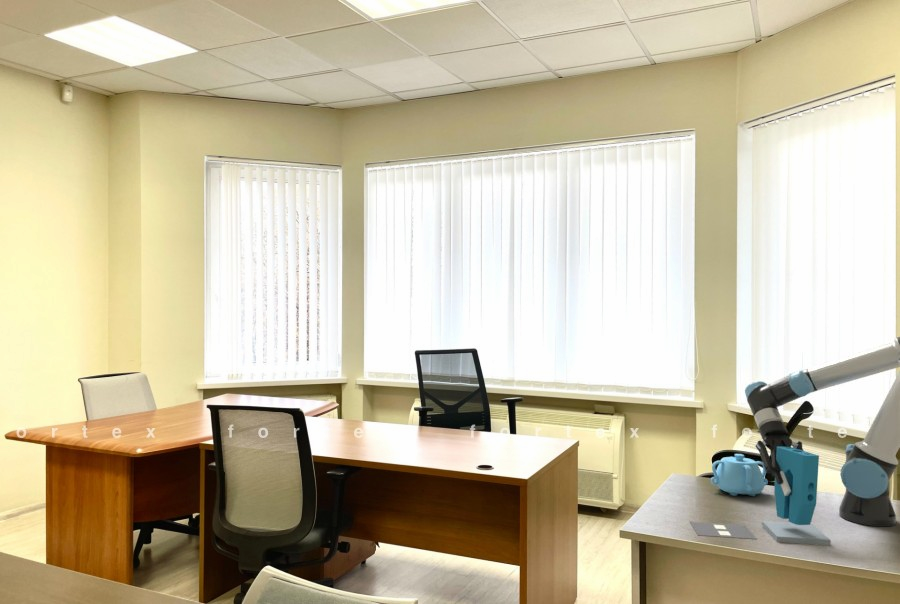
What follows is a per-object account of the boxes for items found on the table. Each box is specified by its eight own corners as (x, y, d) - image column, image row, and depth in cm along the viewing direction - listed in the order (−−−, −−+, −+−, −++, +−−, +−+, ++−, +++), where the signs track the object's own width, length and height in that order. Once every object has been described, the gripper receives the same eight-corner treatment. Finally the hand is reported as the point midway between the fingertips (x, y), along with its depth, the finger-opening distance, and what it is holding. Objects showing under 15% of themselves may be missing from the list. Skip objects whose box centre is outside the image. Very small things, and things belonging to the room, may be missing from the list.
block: (816, 526, 187) (820, 456, 187) (801, 527, 186) (805, 455, 186) (785, 513, 198) (789, 446, 199) (771, 513, 197) (775, 446, 197)
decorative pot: (748, 501, 225) (748, 461, 226) (705, 490, 238) (706, 452, 238) (772, 494, 235) (773, 456, 235) (730, 484, 248) (731, 447, 248)
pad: (811, 528, 198) (811, 523, 198) (830, 545, 184) (830, 539, 184) (761, 525, 200) (761, 520, 200) (776, 541, 186) (776, 536, 186)
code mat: (745, 526, 200) (745, 525, 200) (756, 539, 188) (756, 538, 188) (689, 522, 202) (689, 521, 202) (697, 536, 190) (697, 534, 190)
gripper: (795, 433, 210) (825, 500, 193) (737, 432, 209) (762, 499, 193) (805, 419, 204) (836, 487, 188) (745, 418, 204) (771, 486, 188)
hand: (798, 493), depth 190 cm, fingers closed on block, 5 cm apart
